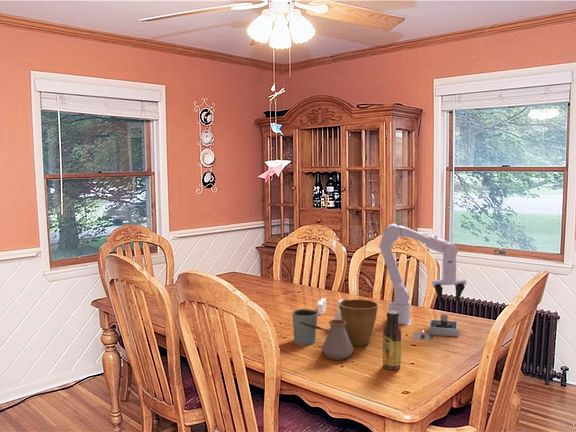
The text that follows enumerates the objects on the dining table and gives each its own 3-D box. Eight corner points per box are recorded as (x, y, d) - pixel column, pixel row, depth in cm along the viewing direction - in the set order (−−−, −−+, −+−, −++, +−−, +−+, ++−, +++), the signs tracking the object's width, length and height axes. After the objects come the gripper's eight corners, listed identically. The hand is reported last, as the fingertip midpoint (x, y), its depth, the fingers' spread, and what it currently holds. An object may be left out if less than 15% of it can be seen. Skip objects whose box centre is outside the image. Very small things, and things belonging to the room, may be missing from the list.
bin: (429, 335, 216) (429, 327, 215) (430, 327, 226) (430, 319, 226) (457, 337, 213) (458, 329, 212) (457, 329, 223) (457, 321, 223)
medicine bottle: (355, 326, 230) (355, 299, 229) (350, 330, 224) (350, 303, 223) (339, 324, 233) (339, 297, 232) (334, 328, 227) (334, 301, 226)
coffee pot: (343, 348, 202) (343, 310, 200) (359, 358, 191) (359, 318, 190) (292, 357, 193) (292, 317, 192) (306, 368, 183) (306, 326, 181)
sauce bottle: (380, 364, 185) (380, 309, 184) (397, 363, 186) (398, 308, 184) (385, 371, 179) (385, 314, 177) (403, 370, 179) (403, 313, 178)
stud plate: (412, 340, 211) (412, 332, 210) (413, 334, 218) (413, 326, 218) (432, 341, 208) (432, 334, 208) (433, 335, 216) (433, 328, 216)
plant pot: (373, 351, 198) (373, 310, 197) (335, 347, 203) (335, 307, 202) (381, 339, 212) (381, 300, 211) (344, 335, 217) (344, 297, 216)
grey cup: (288, 339, 213) (288, 310, 212) (311, 336, 217) (310, 307, 216) (299, 347, 204) (298, 317, 203) (322, 343, 208) (322, 313, 207)
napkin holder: (322, 317, 246) (321, 305, 245) (304, 313, 253) (303, 301, 253) (342, 311, 256) (342, 299, 256) (324, 306, 264) (324, 295, 264)
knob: (436, 331, 219) (436, 315, 218) (441, 329, 222) (441, 313, 222) (446, 334, 216) (446, 317, 215) (451, 331, 219) (451, 315, 218)
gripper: (435, 272, 224) (435, 304, 225) (469, 271, 225) (468, 303, 226) (430, 269, 231) (430, 299, 232) (462, 268, 232) (462, 298, 233)
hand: (448, 301), depth 229 cm, fingers open, 7 cm apart
